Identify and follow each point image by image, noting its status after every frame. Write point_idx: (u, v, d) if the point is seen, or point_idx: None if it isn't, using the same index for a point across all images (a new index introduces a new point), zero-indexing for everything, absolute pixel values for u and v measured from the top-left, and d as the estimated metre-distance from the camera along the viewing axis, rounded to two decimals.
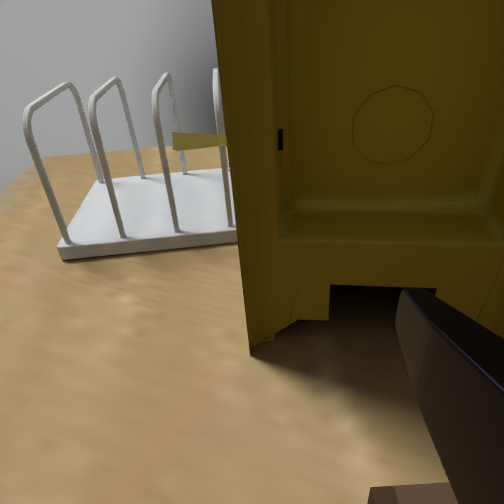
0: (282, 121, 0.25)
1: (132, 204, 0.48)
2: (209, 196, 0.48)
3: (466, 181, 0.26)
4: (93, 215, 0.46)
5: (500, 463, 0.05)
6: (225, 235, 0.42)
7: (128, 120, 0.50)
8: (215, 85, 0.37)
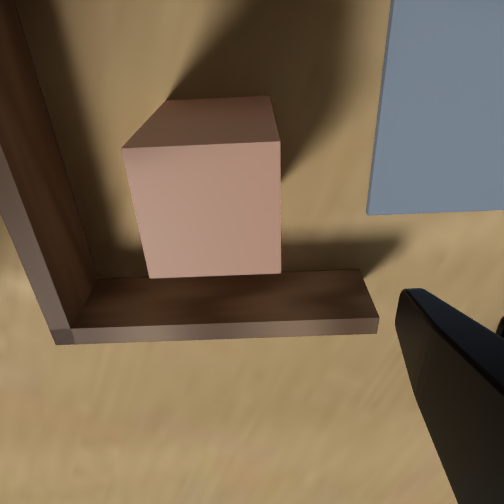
0: None
1: None
2: None
3: None
4: None
5: (500, 463, 0.05)
6: None
7: None
8: None
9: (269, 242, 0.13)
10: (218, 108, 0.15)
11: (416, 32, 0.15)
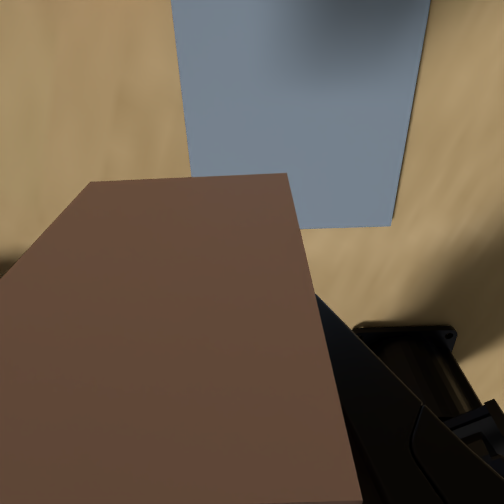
0: None
1: None
2: None
3: None
4: None
5: None
6: None
7: None
8: None
9: None
10: (182, 221, 0.07)
11: (203, 64, 0.16)
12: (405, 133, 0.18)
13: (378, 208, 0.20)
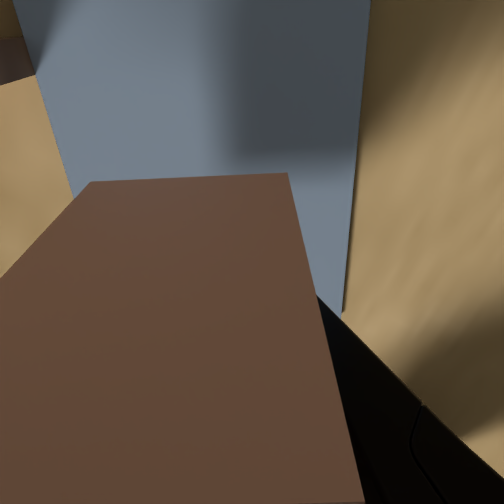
0: None
1: None
2: None
3: None
4: None
5: None
6: None
7: None
8: None
9: None
10: (182, 221, 0.07)
11: (91, 156, 0.13)
12: (347, 226, 0.15)
13: None
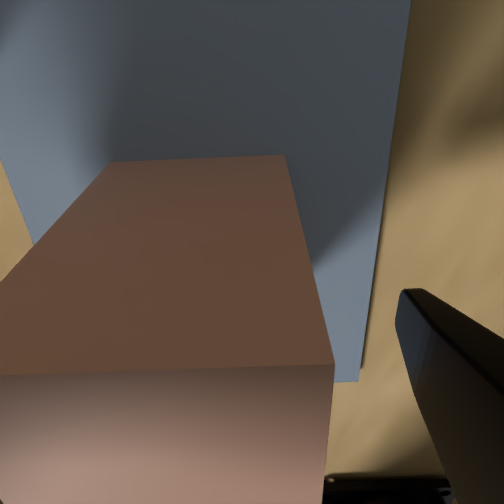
0: None
1: None
2: None
3: None
4: None
5: (500, 464, 0.05)
6: None
7: None
8: None
9: None
10: (193, 192, 0.08)
11: (52, 196, 0.11)
12: (370, 276, 0.12)
13: (339, 362, 0.14)
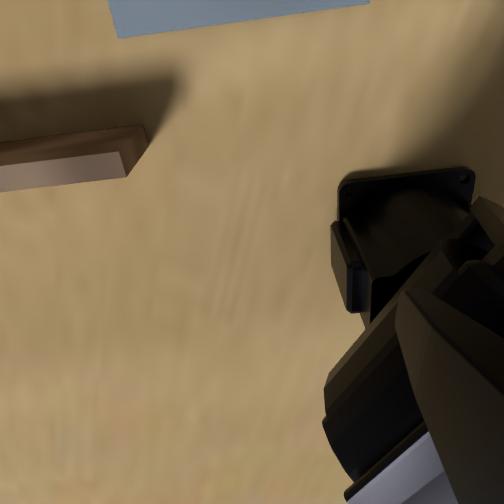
0: None
1: None
2: None
3: None
4: None
5: (499, 463, 0.05)
6: None
7: None
8: None
9: None
10: None
11: None
12: None
13: None
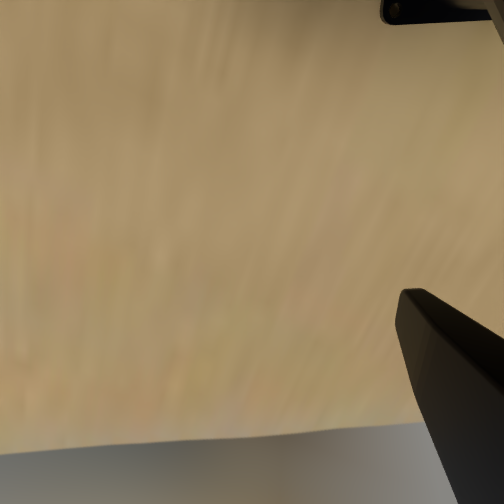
0: None
1: None
2: None
3: None
4: None
5: (499, 463, 0.05)
6: None
7: None
8: None
9: None
10: None
11: None
12: None
13: None
